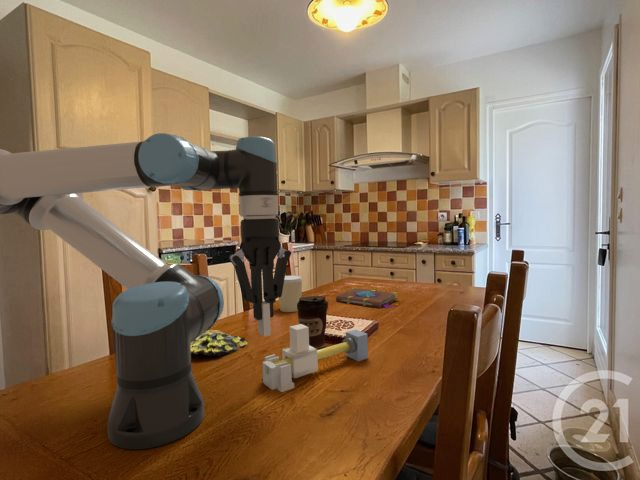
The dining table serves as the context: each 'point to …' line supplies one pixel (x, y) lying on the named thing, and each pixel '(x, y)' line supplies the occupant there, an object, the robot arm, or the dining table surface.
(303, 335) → the sliding rod carriage
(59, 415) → the dining table surface
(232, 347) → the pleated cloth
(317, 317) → the coffee cup
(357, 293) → the book
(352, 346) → the slide rail
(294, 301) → the coffee cup
